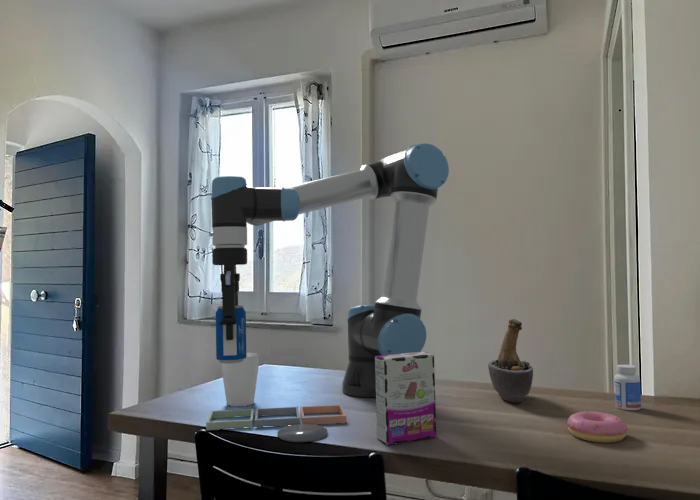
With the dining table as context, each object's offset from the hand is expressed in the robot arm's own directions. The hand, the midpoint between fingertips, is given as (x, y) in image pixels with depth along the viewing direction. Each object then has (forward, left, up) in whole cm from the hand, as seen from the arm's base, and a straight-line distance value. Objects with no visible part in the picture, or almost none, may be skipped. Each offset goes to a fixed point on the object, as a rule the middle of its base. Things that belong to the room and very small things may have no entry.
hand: (231, 352), depth 123 cm
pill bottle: (-91, +4, -16) cm, 92 cm away
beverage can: (0, 0, -2) cm, 2 cm away
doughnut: (-72, +22, -16) cm, 77 cm away
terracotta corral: (-20, 0, -15) cm, 25 cm away
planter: (-68, -9, -16) cm, 70 cm away
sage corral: (0, 0, -15) cm, 15 cm away
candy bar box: (-35, +17, -16) cm, 42 cm away
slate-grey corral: (-10, 0, -15) cm, 18 cm away
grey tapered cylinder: (-1, -17, -16) cm, 23 cm away
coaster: (-15, +11, -15) cm, 24 cm away
